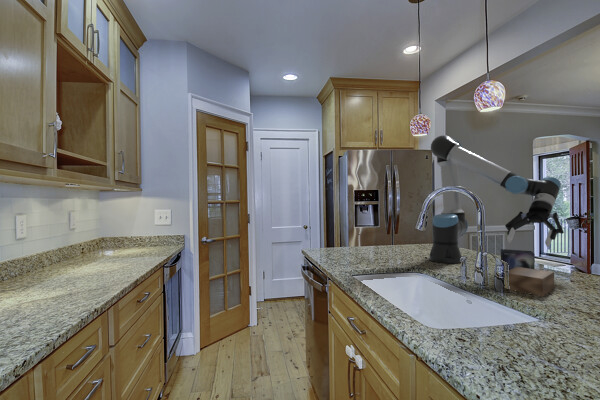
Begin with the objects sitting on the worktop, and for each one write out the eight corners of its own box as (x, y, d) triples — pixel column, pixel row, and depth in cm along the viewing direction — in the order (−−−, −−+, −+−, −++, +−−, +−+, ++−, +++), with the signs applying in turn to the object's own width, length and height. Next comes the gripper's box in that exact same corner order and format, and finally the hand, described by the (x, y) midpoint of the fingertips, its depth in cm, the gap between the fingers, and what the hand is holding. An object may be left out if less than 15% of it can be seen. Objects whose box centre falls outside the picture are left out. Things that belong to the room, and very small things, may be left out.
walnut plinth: (503, 289, 106) (503, 272, 106) (517, 282, 115) (516, 266, 115) (542, 297, 97) (542, 278, 97) (554, 289, 106) (554, 272, 106)
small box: (502, 277, 121) (501, 251, 121) (500, 274, 127) (499, 248, 127) (535, 280, 116) (535, 253, 116) (531, 276, 122) (531, 250, 122)
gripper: (507, 200, 143) (491, 234, 135) (576, 199, 122) (562, 240, 114) (512, 211, 146) (497, 245, 138) (581, 212, 125) (568, 252, 117)
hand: (526, 242), depth 126 cm, fingers open, 13 cm apart
